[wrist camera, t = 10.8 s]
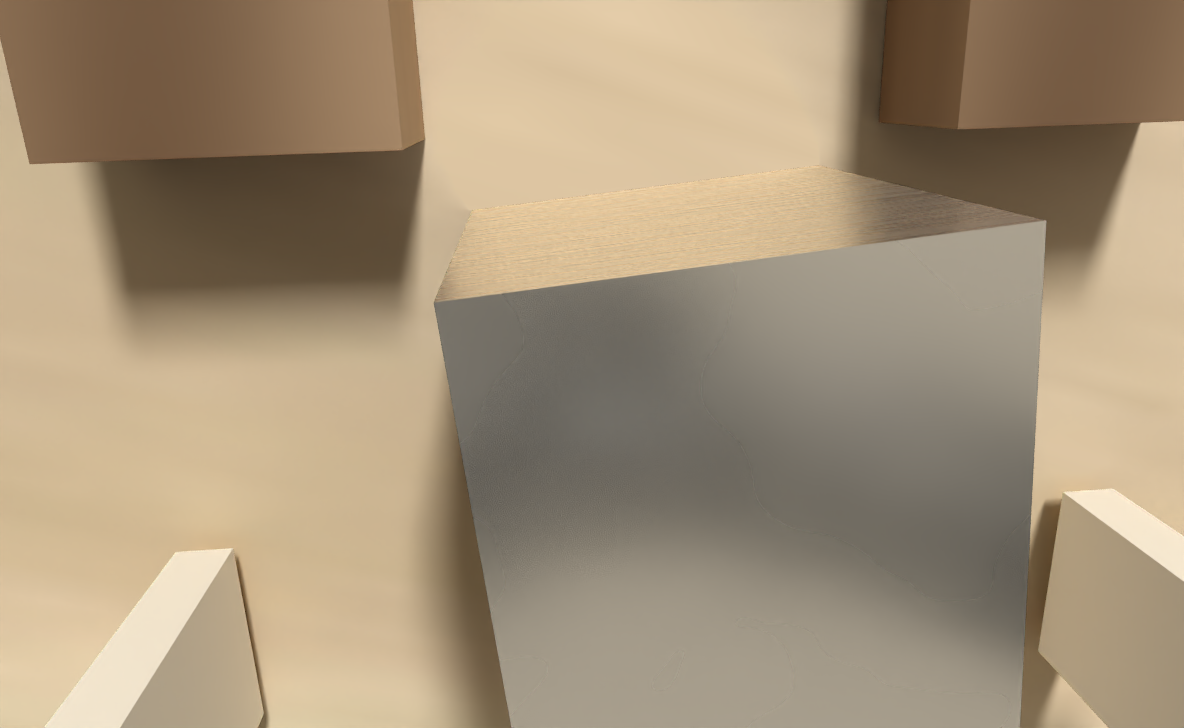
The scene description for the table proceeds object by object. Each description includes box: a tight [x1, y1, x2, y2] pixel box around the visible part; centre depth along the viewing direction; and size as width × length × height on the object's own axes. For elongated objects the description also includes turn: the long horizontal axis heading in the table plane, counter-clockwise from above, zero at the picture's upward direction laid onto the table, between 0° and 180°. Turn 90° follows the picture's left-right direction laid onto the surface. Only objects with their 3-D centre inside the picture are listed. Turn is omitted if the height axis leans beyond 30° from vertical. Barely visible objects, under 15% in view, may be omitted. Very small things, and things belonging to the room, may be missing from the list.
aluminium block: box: [434, 165, 1046, 728], centre depth 10 cm, size 4×8×5 cm, turn 7°
